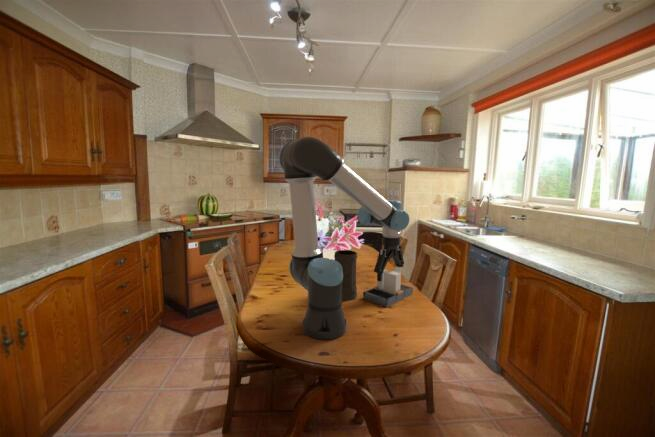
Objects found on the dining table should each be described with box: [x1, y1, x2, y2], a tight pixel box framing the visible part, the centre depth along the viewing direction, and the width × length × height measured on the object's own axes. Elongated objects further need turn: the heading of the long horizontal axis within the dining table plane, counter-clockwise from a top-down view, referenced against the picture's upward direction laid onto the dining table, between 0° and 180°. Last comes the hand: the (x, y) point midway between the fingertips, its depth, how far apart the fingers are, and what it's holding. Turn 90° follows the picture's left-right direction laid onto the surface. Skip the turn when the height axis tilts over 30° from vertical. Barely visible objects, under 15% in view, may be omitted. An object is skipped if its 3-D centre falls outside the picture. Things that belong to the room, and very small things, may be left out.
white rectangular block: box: [378, 268, 402, 295], centre depth 133 cm, size 4×9×10 cm, turn 47°
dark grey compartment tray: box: [362, 283, 414, 308], centre depth 133 cm, size 20×12×4 cm, turn 135°
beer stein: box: [333, 249, 358, 301], centre depth 134 cm, size 15×11×20 cm
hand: (388, 284), depth 133 cm, fingers open, 12 cm apart
